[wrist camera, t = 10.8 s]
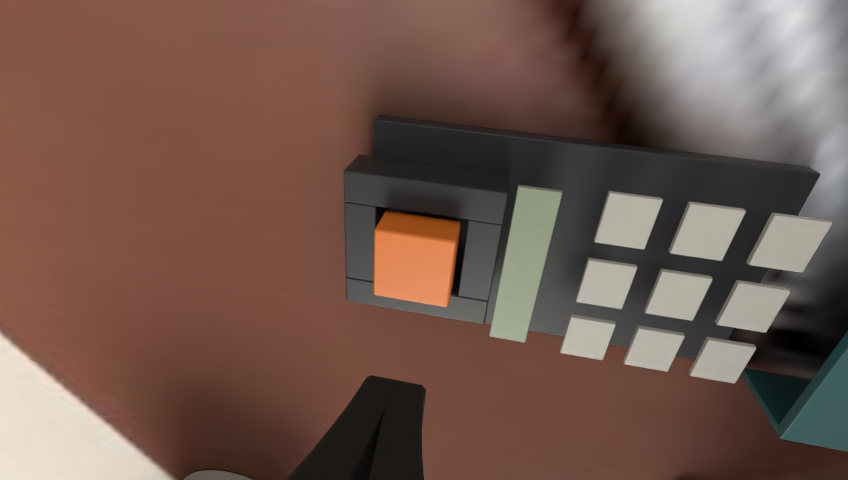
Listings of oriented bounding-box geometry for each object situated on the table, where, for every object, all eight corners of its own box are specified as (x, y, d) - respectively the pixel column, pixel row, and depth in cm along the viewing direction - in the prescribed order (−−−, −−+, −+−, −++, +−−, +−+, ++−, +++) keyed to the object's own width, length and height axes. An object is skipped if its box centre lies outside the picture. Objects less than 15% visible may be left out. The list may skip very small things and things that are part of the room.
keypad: (732, 379, 17) (735, 383, 16) (488, 337, 18) (488, 340, 17) (829, 219, 13) (832, 222, 13) (519, 178, 14) (519, 180, 14)
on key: (461, 220, 16) (456, 241, 14) (452, 284, 17) (447, 308, 16) (385, 209, 16) (373, 228, 15) (383, 272, 17) (372, 295, 16)
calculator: (809, 166, 15) (859, 195, 13) (709, 351, 19) (734, 397, 17) (364, 112, 17) (342, 130, 14) (363, 293, 21) (346, 327, 19)
